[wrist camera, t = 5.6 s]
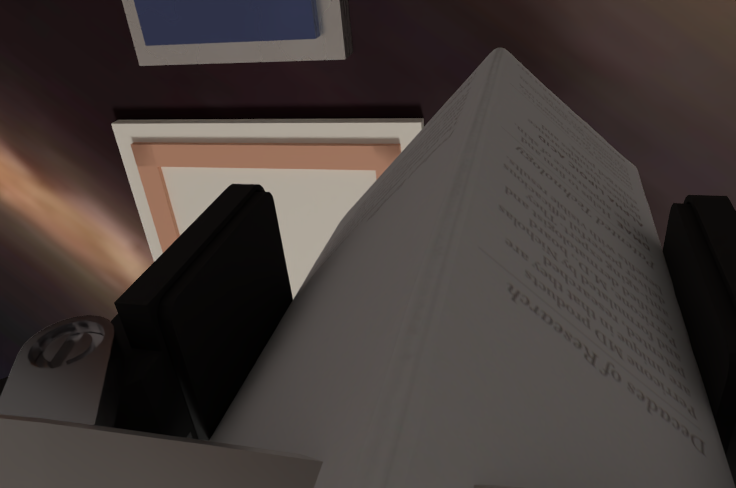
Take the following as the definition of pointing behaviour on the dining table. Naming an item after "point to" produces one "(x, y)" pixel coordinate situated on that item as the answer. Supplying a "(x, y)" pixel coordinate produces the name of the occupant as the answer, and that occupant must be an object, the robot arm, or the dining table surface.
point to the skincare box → (489, 318)
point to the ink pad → (238, 30)
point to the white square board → (258, 172)
